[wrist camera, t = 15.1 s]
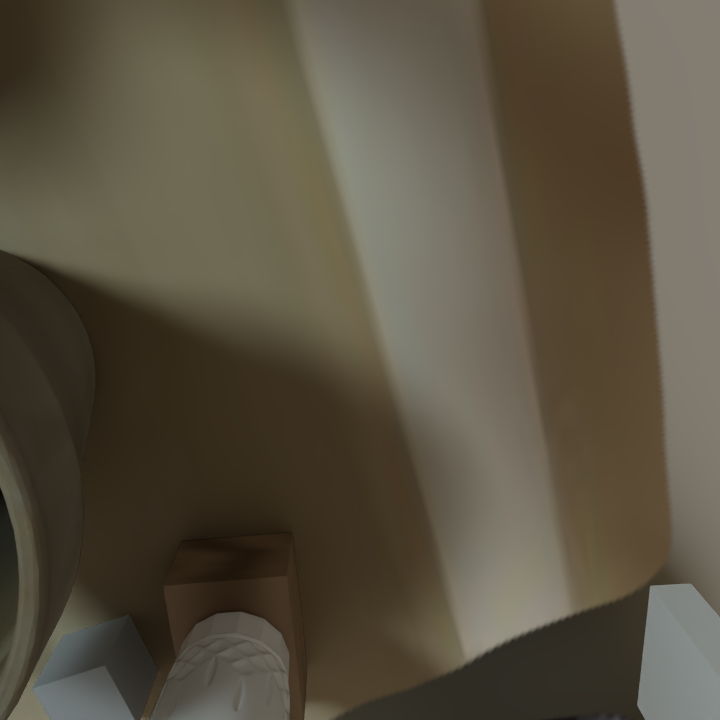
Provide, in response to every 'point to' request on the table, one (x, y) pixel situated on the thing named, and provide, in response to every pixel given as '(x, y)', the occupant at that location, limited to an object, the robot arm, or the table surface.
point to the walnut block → (241, 593)
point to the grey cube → (98, 674)
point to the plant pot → (38, 464)
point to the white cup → (228, 672)
